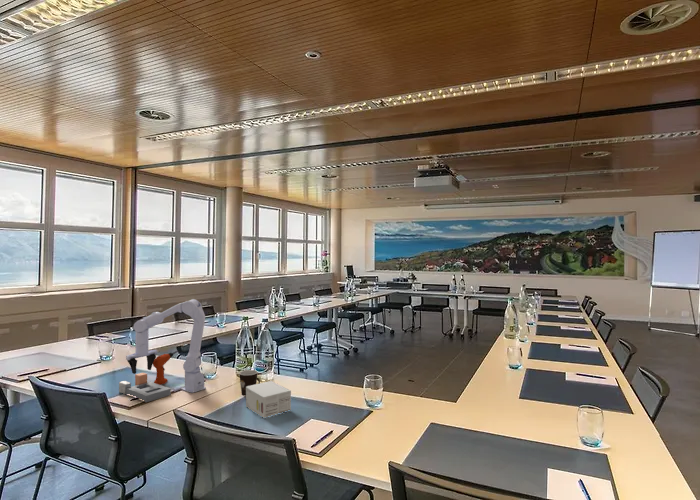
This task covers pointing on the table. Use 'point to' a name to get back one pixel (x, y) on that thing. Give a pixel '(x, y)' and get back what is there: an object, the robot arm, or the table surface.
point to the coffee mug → (248, 379)
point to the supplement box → (268, 398)
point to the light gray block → (124, 386)
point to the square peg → (140, 378)
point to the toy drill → (161, 367)
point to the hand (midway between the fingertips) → (141, 371)
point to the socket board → (149, 391)
